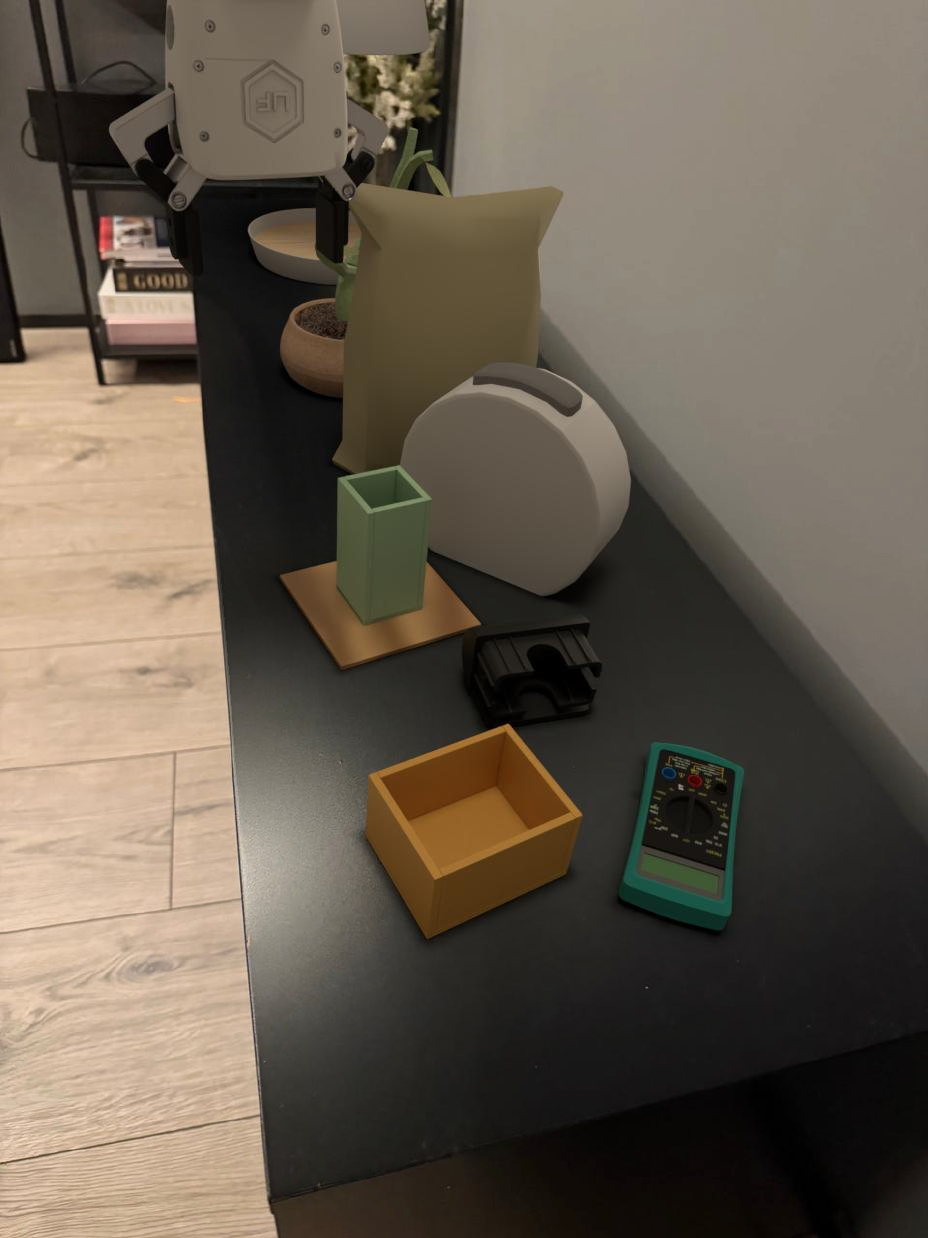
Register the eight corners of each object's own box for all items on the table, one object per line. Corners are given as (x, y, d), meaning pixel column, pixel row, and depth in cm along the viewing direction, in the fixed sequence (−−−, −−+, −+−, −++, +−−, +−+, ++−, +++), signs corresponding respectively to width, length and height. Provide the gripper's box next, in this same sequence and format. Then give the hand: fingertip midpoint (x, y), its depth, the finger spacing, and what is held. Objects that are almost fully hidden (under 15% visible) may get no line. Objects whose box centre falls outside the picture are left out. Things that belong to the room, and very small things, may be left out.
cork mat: (341, 670, 79) (341, 666, 78) (279, 579, 88) (279, 574, 87) (480, 627, 85) (481, 623, 85) (410, 546, 94) (410, 542, 93)
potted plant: (288, 409, 114) (282, 143, 95) (274, 348, 127) (266, 103, 108) (465, 405, 119) (492, 152, 100) (433, 346, 132) (452, 114, 114)
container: (506, 417, 118) (541, 163, 99) (553, 487, 105) (604, 212, 86) (318, 428, 111) (318, 156, 92) (346, 503, 99) (352, 209, 80)
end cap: (563, 658, 83) (576, 599, 78) (594, 714, 78) (610, 654, 73) (457, 673, 80) (464, 612, 76) (482, 731, 75) (492, 670, 70)
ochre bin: (426, 940, 60) (434, 880, 56) (365, 835, 66) (368, 774, 62) (566, 874, 65) (583, 815, 61) (497, 783, 71) (508, 723, 67)
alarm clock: (611, 575, 93) (656, 394, 81) (582, 613, 88) (625, 425, 76) (431, 504, 100) (447, 327, 88) (394, 535, 95) (405, 352, 82)
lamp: (248, 289, 142) (230, -53, 115) (239, 228, 164) (222, -72, 137) (432, 291, 149) (456, -31, 122) (400, 232, 171) (414, -53, 144)
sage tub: (363, 626, 83) (368, 513, 75) (336, 588, 86) (337, 477, 79) (422, 609, 85) (432, 498, 78) (393, 573, 89) (399, 464, 82)
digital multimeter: (737, 781, 73) (748, 756, 71) (721, 939, 62) (733, 914, 60) (646, 755, 75) (654, 730, 73) (614, 905, 63) (623, 880, 61)
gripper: (104, -56, 44) (147, 296, 55) (420, -35, 52) (403, 271, 63) (68, -73, 49) (114, 254, 60) (363, -52, 57) (356, 235, 68)
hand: (262, 262), depth 61 cm, fingers open, 9 cm apart
